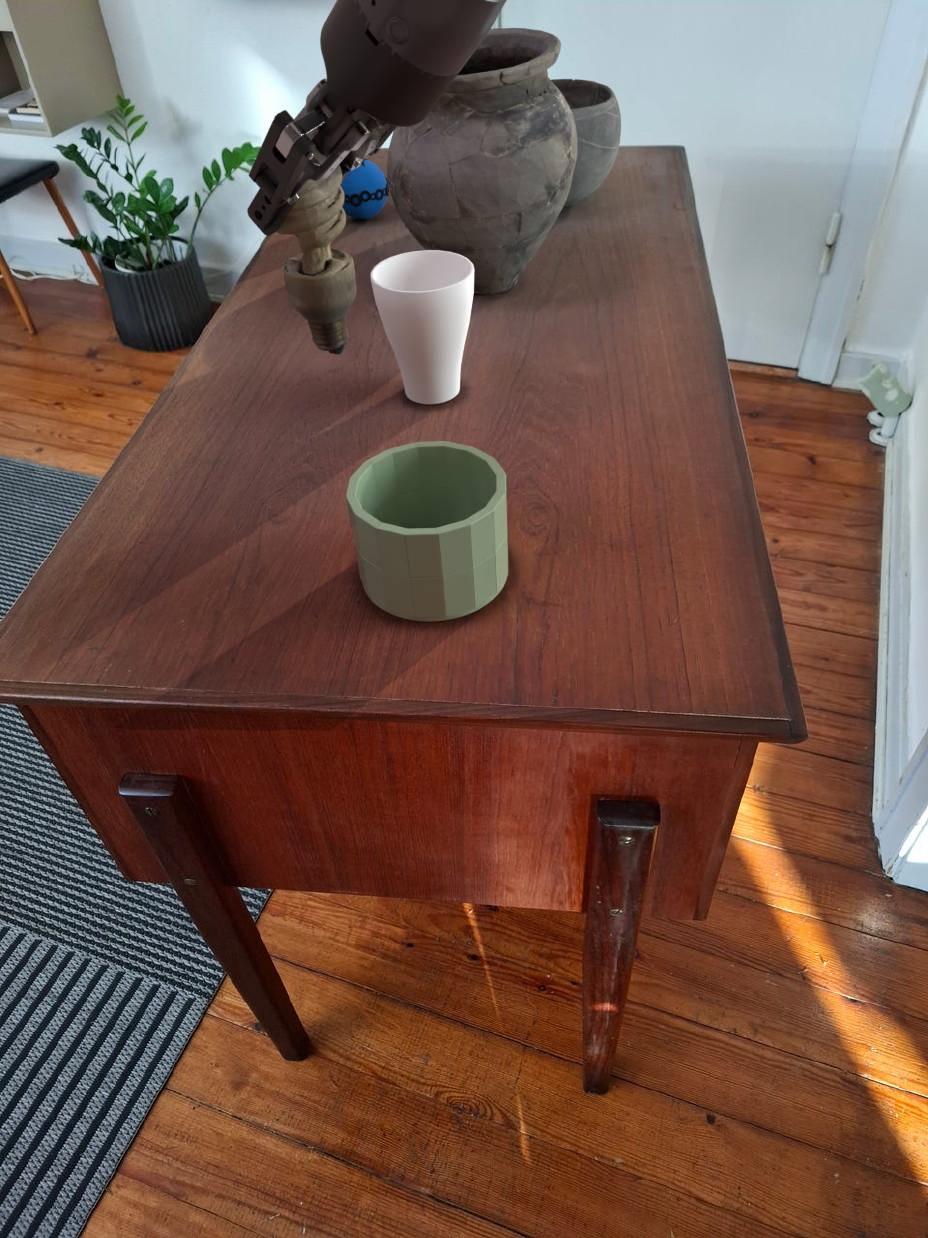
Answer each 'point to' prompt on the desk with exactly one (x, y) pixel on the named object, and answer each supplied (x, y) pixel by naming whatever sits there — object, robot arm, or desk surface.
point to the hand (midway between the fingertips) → (287, 207)
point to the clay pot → (489, 159)
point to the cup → (426, 318)
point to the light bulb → (320, 262)
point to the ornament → (364, 191)
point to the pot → (430, 529)
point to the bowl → (591, 133)
